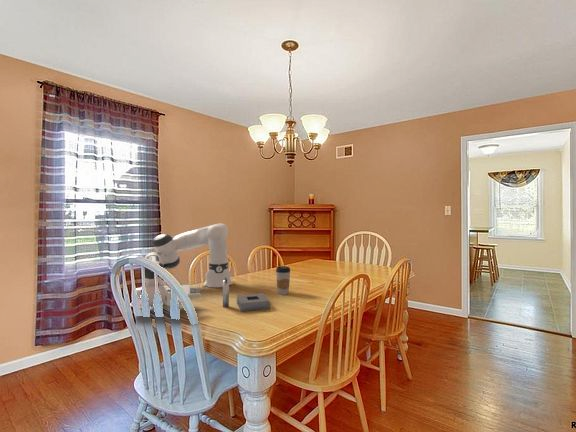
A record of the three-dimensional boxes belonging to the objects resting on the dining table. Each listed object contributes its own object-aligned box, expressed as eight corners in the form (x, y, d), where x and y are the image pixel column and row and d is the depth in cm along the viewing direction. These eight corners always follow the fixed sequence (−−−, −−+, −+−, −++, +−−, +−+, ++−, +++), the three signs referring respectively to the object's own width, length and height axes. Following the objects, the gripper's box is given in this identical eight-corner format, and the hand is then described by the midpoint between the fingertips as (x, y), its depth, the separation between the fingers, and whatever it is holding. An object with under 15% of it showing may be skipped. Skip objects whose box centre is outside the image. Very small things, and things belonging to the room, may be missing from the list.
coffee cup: (277, 295, 173) (277, 269, 173) (274, 291, 181) (274, 266, 181) (292, 294, 175) (292, 268, 175) (288, 290, 183) (288, 265, 183)
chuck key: (222, 305, 156) (222, 277, 155) (228, 304, 157) (228, 277, 156) (223, 308, 151) (223, 279, 151) (229, 307, 152) (229, 279, 151)
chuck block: (236, 303, 159) (236, 295, 159) (263, 300, 163) (263, 293, 163) (240, 311, 146) (240, 303, 146) (269, 309, 150) (269, 300, 150)
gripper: (171, 295, 156) (199, 293, 160) (168, 307, 136) (200, 304, 140) (171, 282, 156) (199, 280, 160) (168, 293, 136) (200, 291, 140)
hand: (200, 292), depth 150 cm, fingers open, 8 cm apart
